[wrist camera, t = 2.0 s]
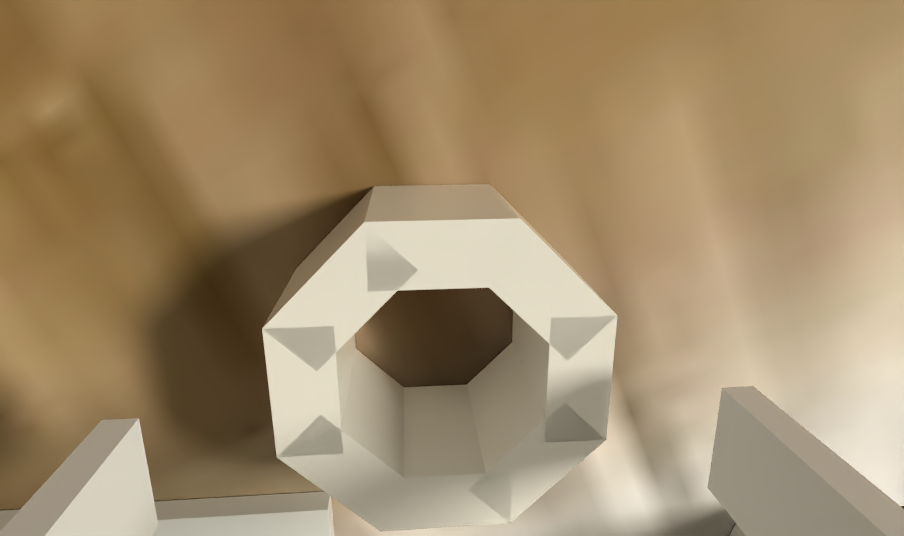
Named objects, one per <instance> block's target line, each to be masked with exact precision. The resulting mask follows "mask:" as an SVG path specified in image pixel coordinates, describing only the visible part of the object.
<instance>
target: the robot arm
mask: <svg viewBox="0 0 904 536" xmlns="http://www.w3.org/2000/svg"><path fill="white" fill-rule="evenodd" d="M708 489H709V490H710V491H711V492H712V494H713V495H714V496H715V497H716V499H717V500H718V501H719V502H720V504H721V505H722V506H723V507H724V509H725V510H726V511H727V512H728V514H729V515H730V516H731V518H732V519H733V520H734V521H735V523H736V524H737V525H738V526H739V528H740V529H741V530H742V531H743V533H744V534H745V535H746V536H904V506H899V505H898V504H897V503H896V502H894V501H893V500H892V499H891V498H890V497H888V496H887V495H886V494H885V493H883V492H882V491H881V490H880V489H878V488H877V487H876V486H875V485H874V484H872V483H871V482H870V481H869V480H867V479H866V478H865V477H864V476H863V475H861V474H860V473H859V472H858V471H856V470H855V469H854V468H853V467H851V466H850V465H849V464H848V463H847V462H845V461H844V460H843V459H842V458H840V457H839V456H838V455H837V454H836V453H834V452H833V451H832V450H831V449H829V448H828V447H827V446H826V445H824V444H823V443H822V442H821V441H820V440H818V439H817V438H816V437H815V436H813V435H812V434H811V433H810V432H809V431H807V430H806V429H805V428H804V427H802V426H801V425H800V424H799V423H797V422H796V421H795V420H794V419H793V418H791V417H790V416H789V415H788V414H786V413H785V412H784V411H783V410H782V409H780V408H779V407H778V406H777V405H775V404H774V403H773V402H772V401H771V400H769V399H768V398H767V397H766V396H764V395H763V394H762V393H761V392H759V391H758V390H757V389H756V388H755V387H753V386H750V387H730V388H722V392H721V399H720V406H719V413H718V420H717V427H716V434H715V441H714V448H713V455H712V462H711V469H710V476H709V483H708ZM157 526H158V520H157V514H156V509H155V504H154V498H153V493H152V487H151V482H150V476H149V471H148V465H147V460H146V454H145V449H144V444H143V438H142V433H141V427H140V422H139V418H134V419H115V420H101V421H100V422H99V424H98V425H97V426H96V427H95V428H94V429H93V430H92V431H91V432H90V433H89V435H88V436H87V437H86V438H85V439H84V440H83V441H82V442H81V443H80V444H79V445H78V447H77V448H76V449H75V450H74V451H73V452H72V453H71V454H70V455H69V456H68V458H67V459H66V460H65V461H64V462H63V463H62V464H61V465H60V466H59V467H58V469H57V470H56V471H55V472H54V473H53V474H52V475H51V476H50V477H49V478H48V480H47V481H46V482H45V483H44V484H43V485H42V486H41V487H40V488H39V489H38V490H37V492H36V493H35V494H34V495H33V496H32V497H31V498H30V499H29V500H28V501H27V503H26V504H25V505H24V506H23V507H22V508H21V509H20V510H19V511H18V512H17V514H16V515H15V516H14V517H13V518H12V519H11V520H10V521H9V522H8V523H7V525H6V526H5V527H4V528H3V529H2V530H1V531H0V536H152V535H153V533H154V532H155V530H156V528H157Z"/></svg>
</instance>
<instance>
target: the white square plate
mask: <svg viewBox="0 0 904 536" xmlns="http://www.w3.org/2000/svg"><path fill="white" fill-rule="evenodd" d="M154 504H155V509H156V514H157V520H158V526H157V528H156V530H155V532H154V533H153V535H152V536H334V524H333V512H332V500H331V496H330V495H329V494H327V493H326V492H308V493H291V494H274V495H257V496H240V497H223V498H206V499H189V500H172V501H155V502H154ZM19 510H20V509H19ZM19 510H2V511H0V531H1V530H2V529H3V528H4V527H5V526H6V525H7V523H8V522H9V521H10V520H11V519H12V518H13V517H14V516H15V515H16V514H17V512H18V511H19Z"/></svg>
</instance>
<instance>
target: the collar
mask: <svg viewBox="0 0 904 536" xmlns="http://www.w3.org/2000/svg"><path fill="white" fill-rule="evenodd" d="M461 288H490V289H491V290H492V291H493V292H494V293H495V294H497V295H498V296H499V297H500V298H501V299H502V300H503V301H504V302H505V303H506V304H507V305H508V306H509V307H510V308H512V309H513V328H512V343H511V344H509V345H508V346H507V347H506V348H505V349H504V350H503V351H502V352H501V353H500V354H499V355H498V356H497V357H496V358H495V359H493V360H492V361H491V362H490V363H489V364H488V365H487V366H486V367H485V368H484V369H483V370H482V371H481V372H480V373H479V374H477V375H476V376H475V377H474V378H473V379H472V380H471V381H470V382H469V383H468V384H467V385H446V386H424V387H402V386H401V385H400V384H399V383H398V382H396V381H395V380H394V379H393V378H391V377H390V376H389V375H388V374H387V373H385V372H384V371H383V370H382V369H380V368H379V367H378V366H377V365H376V364H374V363H373V362H372V361H371V360H369V359H368V358H367V357H366V356H365V355H363V354H362V353H361V352H360V351H358V350H357V349H356V345H355V333H356V332H357V331H358V330H359V329H360V328H361V327H362V326H363V325H364V324H365V323H366V322H367V321H368V320H369V319H370V318H371V317H372V316H373V315H374V314H375V313H376V312H377V311H378V310H379V309H380V308H381V307H382V306H383V305H384V304H385V303H386V302H387V301H388V300H389V299H390V298H391V297H392V296H393V295H394V294H395V293H396V292H397V291H399V290H430V289H461ZM616 324H617V315H616V314H615V313H614V312H613V311H612V309H611V308H610V307H609V306H608V305H607V304H606V303H605V302H604V301H603V300H602V299H601V298H600V297H599V296H598V294H597V293H596V292H595V291H594V290H593V289H592V288H591V287H590V286H589V285H588V284H587V283H586V282H585V280H584V279H583V278H582V277H581V276H580V275H579V274H578V273H577V272H576V271H575V270H574V269H573V268H572V267H571V265H570V264H569V263H568V262H567V261H566V260H565V259H564V258H563V257H562V256H561V255H560V254H559V253H558V252H557V251H556V250H555V249H554V248H553V247H552V246H551V245H550V244H549V243H548V242H547V241H546V240H545V239H544V238H543V237H542V236H541V235H540V234H539V233H538V232H537V231H536V230H535V229H534V228H533V227H532V226H531V225H530V224H529V223H528V222H527V221H526V220H525V219H524V218H523V217H522V216H521V215H520V214H519V213H518V212H517V211H516V210H515V209H514V208H513V207H512V206H511V205H510V204H509V203H508V202H507V201H506V200H505V199H504V198H503V197H502V196H501V195H500V194H499V193H498V192H497V191H496V190H495V189H494V188H493V187H492V186H491V185H490V184H472V185H417V186H374V187H373V188H372V189H371V190H370V191H369V192H368V193H367V194H366V195H365V196H364V197H363V198H362V199H361V201H360V202H359V203H358V204H357V205H356V206H355V207H354V208H353V209H352V210H351V211H350V212H349V213H348V214H347V215H346V216H345V217H344V218H343V219H342V221H341V222H340V223H339V224H338V225H337V226H336V227H335V228H334V229H333V230H332V231H331V232H330V233H329V234H328V235H327V236H326V237H325V238H324V240H323V241H322V242H321V243H320V244H319V245H318V246H317V247H316V248H315V249H314V250H313V251H312V252H311V253H310V254H309V255H308V256H307V257H306V259H305V260H304V261H303V262H302V263H301V264H300V265H299V266H298V267H297V268H296V270H295V272H294V274H293V275H292V277H291V279H290V281H289V282H288V284H287V286H286V288H285V289H284V291H283V293H282V295H281V296H280V298H279V300H278V302H277V303H276V305H275V307H274V309H273V310H272V312H271V314H270V316H269V317H268V319H267V321H266V323H265V324H264V326H263V328H262V332H263V341H264V350H265V359H266V368H267V376H268V385H269V394H270V403H271V411H272V420H273V429H274V438H275V447H276V455H277V458H278V459H280V460H281V461H282V462H284V463H285V464H287V465H288V466H289V467H291V468H292V469H294V470H295V471H296V472H298V473H299V474H301V475H302V476H303V477H305V478H306V479H308V480H309V481H310V482H312V483H313V484H315V485H316V486H318V487H319V488H320V489H322V490H323V491H325V492H326V493H327V494H329V495H330V496H332V497H333V498H334V499H336V500H337V501H339V502H340V503H341V504H343V505H344V506H346V507H347V508H348V509H350V510H351V511H353V512H354V513H355V514H357V515H358V516H360V517H361V518H362V519H364V520H365V521H367V522H368V523H369V524H371V525H372V526H374V527H375V528H376V529H378V530H379V531H394V530H410V529H425V528H441V527H456V526H471V525H487V524H502V523H511V522H512V521H513V520H514V519H515V518H516V517H518V516H519V515H520V514H521V513H522V512H523V511H525V510H526V509H527V508H528V507H529V506H530V505H531V504H533V503H534V502H535V501H536V500H537V499H538V498H539V497H541V496H542V495H543V494H544V493H545V492H546V491H548V490H549V489H550V488H551V487H552V486H553V485H554V484H556V483H557V482H558V481H559V480H560V479H561V478H563V477H564V476H565V475H566V474H567V473H568V472H569V471H571V470H572V469H573V468H574V467H575V466H576V465H577V464H579V463H580V462H581V461H582V460H583V459H584V458H586V457H587V456H588V455H589V454H590V453H591V452H592V451H594V450H595V449H596V448H597V447H598V446H599V445H601V444H602V443H603V442H604V441H605V440H606V436H607V424H608V413H609V402H610V391H611V380H612V369H613V358H614V346H615V335H616Z"/></svg>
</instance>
